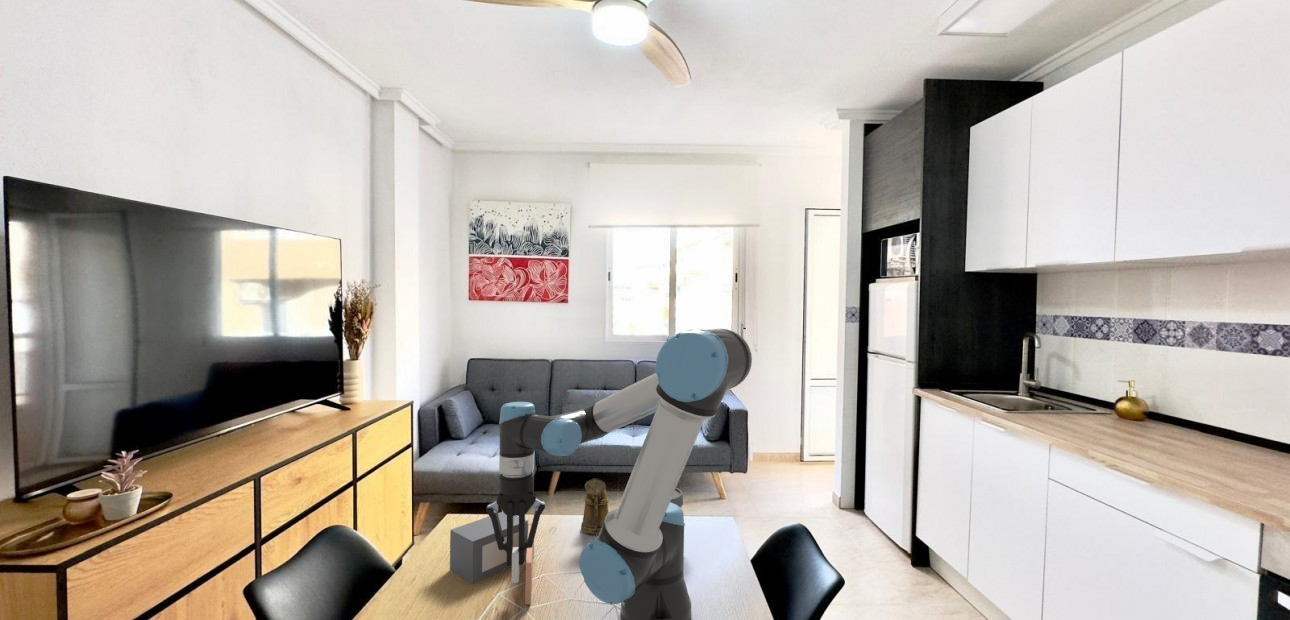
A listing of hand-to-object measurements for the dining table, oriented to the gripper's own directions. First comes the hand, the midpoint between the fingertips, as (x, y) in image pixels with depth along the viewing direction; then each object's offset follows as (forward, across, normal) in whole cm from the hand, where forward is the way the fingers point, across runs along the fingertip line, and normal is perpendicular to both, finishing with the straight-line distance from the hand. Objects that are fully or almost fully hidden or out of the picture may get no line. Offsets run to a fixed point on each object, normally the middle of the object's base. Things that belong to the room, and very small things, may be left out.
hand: (515, 579), depth 113 cm
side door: (+4, +3, +8) cm, 10 cm away
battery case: (+5, -8, +18) cm, 20 cm away
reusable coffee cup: (+5, +37, +21) cm, 43 cm away
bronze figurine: (+5, +21, +33) cm, 39 cm away
